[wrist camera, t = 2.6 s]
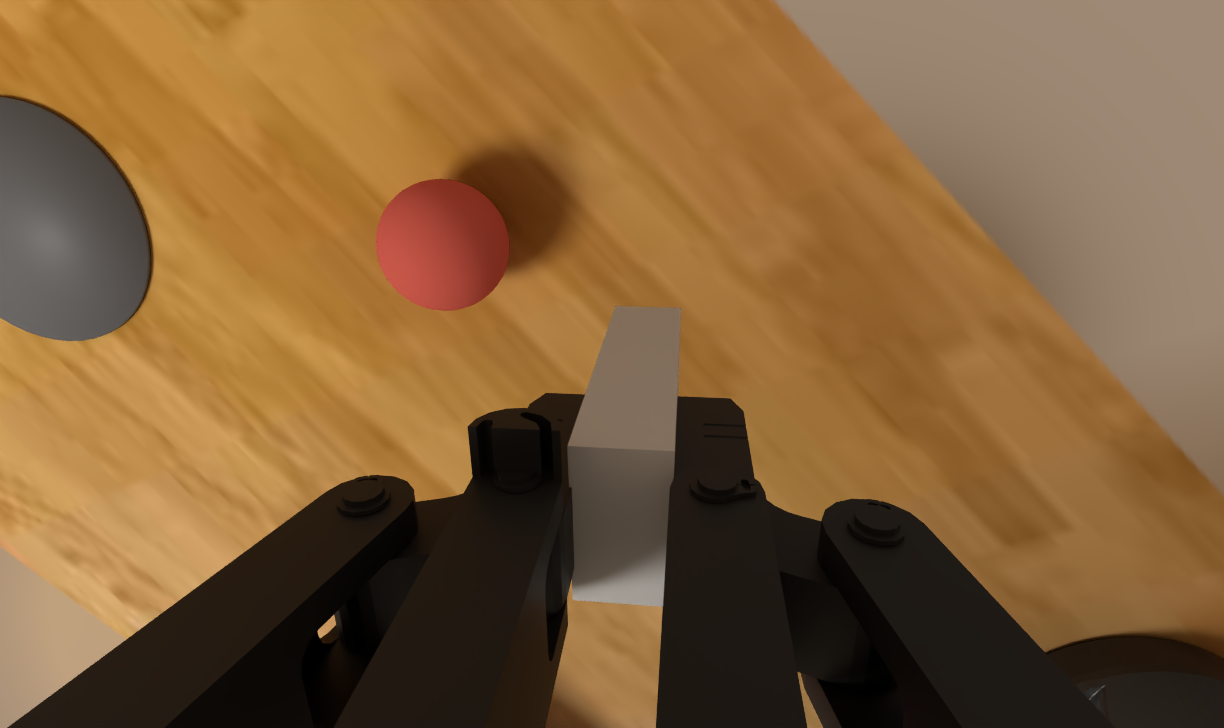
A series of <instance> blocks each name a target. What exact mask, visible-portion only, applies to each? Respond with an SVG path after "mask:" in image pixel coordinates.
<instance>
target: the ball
mask: <svg viewBox="0 0 1224 728" xmlns="http://www.w3.org/2000/svg"><path fill="white" fill-rule="evenodd" d="M376 250H377V255H378V260H379V263H380V266H381V268H382V271H383V273H384V275H385V276H386V278H387V280H388V281H389V282H390V284H391V285H392V286H393V287H394V288H395V289H396V290H397V291H398V292H399V293H400V294H401V295H402V296H404V297H405V298H407V299H408V300H410V301H411V302H413V303H415V304H417V305H419V306H422V307H425V308H429V309H433V310H442V311H449V310H458V309H462V308H465V307H469V306H471V305H473V304H475V303H477V302H479V301H480V300H482V299H483V298H485V297H486V296H487V295H489V294H490V293H491V292H492V291H493V290H494V288H495V287H496V286H497V285H498V283H499V282H500V280H501V278H502V277H503V275H504V272H505V270H506V267H507V263H508V259H509V236H508V232H507V228H506V225H505V223H504V220H503V218H502V216H501V215H500V213H499V211H498V210H497V208H496V207H495V206H494V204H493V203H492V202H491V201H490V200H489V199H488V198H487V197H486V196H485V195H483V194H482V193H481V192H479V191H478V190H476V189H475V188H473V187H471V186H469V185H466V184H464V183H461V182H457V181H453V180H446V179H434V180H427V181H422V182H419V183H416V184H414V185H412V186H410V187H408V188H406V189H404V190H403V191H402V192H400V193H399V194H398V195H397V196H396V197H395V198H394V199H393V200H392V201H391V202H390V203H389V204H388V206H387V207H386V209H385V210H384V212H383V214H382V216H381V219H380V222H379V225H378V228H377V234H376Z"/></svg>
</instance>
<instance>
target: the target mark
mask: <svg viewBox="0 0 1224 728" xmlns="http://www.w3.org/2000/svg"><path fill="white" fill-rule="evenodd" d="M150 267H151V255H150V243H149V238H148V233H147V229H146V225H145V222H144V219H143V216H142V213H141V210H140V208H139V206H138V204H137V201H136V199H135V197H134V195H133V193H132V191H131V190H130V188H129V186H128V184H127V183H126V181H125V179H124V178H123V176H122V175H121V174H120V172H119V171H118V169H117V168H116V166H115V165H114V164H113V163H112V161H111V160H110V159H109V158H108V157H107V156H106V154H105V153H104V152H103V151H102V150H101V149H100V148H99V147H98V146H97V145H96V144H95V143H94V142H93V141H92V140H91V139H90V138H89V137H88V136H86V135H85V134H84V133H83V132H81V131H80V130H79V129H78V128H76V127H75V126H74V125H72V124H71V123H69V122H68V121H66V120H64V119H63V118H61V117H60V116H58V115H56V114H54V113H52V112H50V111H48V110H46V109H44V108H42V107H40V106H37V105H34V104H31V103H29V102H26V101H22V100H17V99H13V98H6V97H0V318H2V319H4V320H5V321H7V322H9V323H10V324H12V325H14V326H16V327H18V328H21V329H23V330H25V331H27V332H30V333H33V334H36V335H39V336H42V337H46V338H51V339H55V340H65V341H82V340H88V339H93V338H97V337H100V336H103V335H105V334H108V333H110V332H112V331H114V330H115V329H117V328H119V327H120V326H122V325H123V324H124V323H125V322H127V321H128V320H129V319H130V318H131V317H132V315H133V314H134V313H135V312H136V311H137V309H138V307H139V306H140V304H141V302H142V300H143V298H144V295H145V293H146V290H147V287H148V282H149V277H150Z"/></svg>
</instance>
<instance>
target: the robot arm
mask: <svg viewBox="0 0 1224 728" xmlns="http://www.w3.org/2000/svg"><path fill="white" fill-rule="evenodd" d="M680 320H681V308H663V307H626V306H615V309H614V312H613V315H612V318H611V321H610V324H609V327H608V330H607V332H606V335H605V338H604V341H603V344H602V347H601V350H600V353H599V356H598V359H597V361H596V364H595V367H594V370H593V373H592V376H591V379H590V382H589V385H588V388H587V390H586V393H585V395H582V394H557V393H545V394H544V395H543V396H541V397H540V398H538V399H537V400H535V401H534V402H532V403H531V404H530V405H529V407H528V408H513V409H504V410H499V411H494V412H490V413H488V414H486V415H483V416H481V417H479V418H477V419H475V420H474V421H473V422H472V423H471V424H470V425H469V426H468V434H469V445H470V455H471V465H472V475H473V477H472V479H471V481H470V483H469V485H468V486H467V488H466V490H465V492H464V493H463V494H460V495H457V496H452V497H447V498H442V499H434V500H427V501H420V502H415V495H414V489H413V488H412V487H411V486H410V484H409V483H408V482H407V481H405V480H402V479H399V478H397V477H394V476H381V475H370V476H368V477H367V476H363V477H358V478H356V479H354V480H350V481H347V482H344V483H341V484H339V485H338V486H336V487H334V488H332V489H330V490H329V491H327V492H325V493H324V494H323V495H321V496H320V497H319V498H317V499H316V500H314V501H313V502H312V503H310V504H309V505H308V506H306V507H305V508H304V509H302V510H301V511H300V512H298V513H297V514H296V515H294V516H293V517H292V518H290V519H289V520H287V521H286V522H285V523H283V524H282V525H281V526H279V527H278V528H277V529H275V530H274V531H273V532H271V533H270V534H269V535H267V536H266V537H264V538H263V539H262V540H260V541H259V542H258V543H256V544H255V545H254V546H252V547H251V548H250V549H248V550H247V551H246V552H244V553H243V554H242V555H240V556H239V557H237V558H236V559H235V560H233V561H232V562H231V563H229V564H228V565H227V566H225V567H224V568H223V569H221V570H220V571H219V572H217V573H216V574H214V575H213V576H212V577H210V578H209V579H208V580H206V581H205V582H204V583H202V584H201V585H200V586H198V587H197V588H196V589H194V590H193V591H191V592H190V593H189V594H187V595H186V596H185V597H183V598H182V599H181V600H179V601H178V602H177V603H175V604H174V605H173V606H171V607H170V608H169V609H167V610H166V611H164V612H163V613H162V614H160V615H159V616H158V617H156V618H155V619H154V620H152V621H151V622H150V623H148V624H147V625H146V626H144V627H143V628H141V629H140V630H139V631H137V632H136V633H135V634H133V635H132V636H131V637H129V638H128V639H127V640H125V641H124V642H123V643H121V644H120V645H119V646H117V647H116V648H114V649H113V650H112V651H110V652H109V653H108V654H106V655H105V656H104V657H102V658H101V659H100V660H99V661H97V662H96V663H94V664H93V665H91V666H90V667H89V668H87V669H86V670H85V671H83V672H82V673H81V674H79V675H78V676H77V677H76V678H74V679H73V680H71V681H70V682H68V683H67V684H66V685H65V686H63V687H62V688H60V689H59V690H58V691H56V692H55V693H54V694H52V695H51V696H50V697H48V698H47V699H46V700H44V701H43V702H41V703H40V704H39V705H37V706H36V707H35V708H33V709H32V710H31V711H29V712H28V713H27V714H25V715H24V716H23V717H21V718H20V719H18V720H17V721H16V722H14V723H13V724H12V725H11V726H9V727H8V728H545V725H546V720H547V716H548V711H549V707H550V702H551V698H552V694H553V689H554V685H555V680H556V676H557V671H558V667H559V662H560V658H561V654H562V649H563V645H564V640H565V636H566V631H567V627H568V615H567V596H568V592H569V587H570V583H571V579H572V592H573V600H580V601H593V602H607V603H621V604H635V605H649V606H662V607H663V614H662V632H661V649H660V667H659V684H658V702H657V719H656V728H807V723H806V718H805V712H804V707H803V701H802V696H801V690H800V684H799V679H798V673H797V672H800V673H801V676H802V680H803V684H804V688H805V690H806V692H807V694H808V696H809V698H810V701H811V703H812V705H813V707H814V709H815V711H816V713H817V715H818V717H819V719H820V721H821V723H822V726H823V728H1224V660H1223V659H1222V658H1220V657H1218V656H1216V655H1214V654H1212V653H1210V652H1208V651H1206V650H1203V649H1200V648H1198V647H1195V646H1192V645H1188V644H1185V643H1180V642H1176V641H1171V640H1165V639H1157V638H1144V637H1123V638H1110V639H1102V640H1095V641H1090V642H1085V643H1081V644H1077V645H1073V646H1069V647H1066V648H1063V649H1060V650H1057V651H1054V652H1052V653H1049V654H1046V653H1045V652H1044V651H1043V650H1042V649H1041V648H1040V647H1039V646H1038V645H1037V644H1036V643H1035V641H1034V640H1033V639H1032V638H1031V637H1030V636H1029V635H1028V634H1027V633H1026V632H1025V631H1024V630H1023V629H1022V628H1021V626H1020V625H1019V624H1018V623H1017V622H1016V621H1015V620H1014V619H1013V618H1012V617H1011V616H1010V615H1009V614H1008V613H1007V612H1006V610H1005V609H1004V608H1003V607H1002V606H1001V605H1000V604H999V603H998V602H997V601H996V600H995V599H994V598H993V597H992V596H991V594H990V593H989V592H988V591H987V590H986V589H985V588H984V587H983V586H982V585H981V584H980V583H979V582H978V581H977V579H976V578H975V577H974V576H973V575H972V574H971V573H970V572H969V571H968V570H967V569H966V568H965V567H964V566H963V565H962V563H961V562H960V561H959V560H958V559H957V558H956V557H955V556H954V555H953V554H952V553H951V552H950V551H949V550H948V549H947V547H946V546H945V545H944V544H943V543H942V542H941V541H940V540H939V539H938V538H937V537H936V536H935V535H934V534H933V532H932V531H931V530H930V529H929V528H928V527H927V526H926V525H925V524H924V523H923V522H921V521H920V520H919V519H918V518H916V517H915V516H914V515H912V514H911V513H910V512H907V511H905V510H903V509H901V508H899V507H896V506H894V505H892V504H889V503H886V502H882V501H881V502H879V501H878V500H871V499H849V500H845V501H840V502H836V503H834V504H833V505H832V506H830V507H829V508H827V509H826V510H825V512H824V515H823V518H822V521H818V520H814V519H810V518H806V517H802V516H799V515H795V514H792V513H789V512H786V511H784V510H782V509H780V508H778V507H776V506H774V505H773V504H772V503H770V502H769V501H767V500H766V495H765V491H764V489H763V488H762V486H761V484H760V482H759V481H757V480H756V479H755V478H754V473H753V466H752V460H751V454H750V448H749V442H748V436H747V430H746V424H745V418H744V412H743V410H742V409H741V408H740V407H739V406H737V405H736V404H735V403H734V402H733V401H732V400H731V399H729V398H704V397H679V396H678V377H679V349H680ZM333 615H334V616H335V620H336V626H335V627H334V628H333V629H332V630H331V631H330V632H329V633H328V634H326V635H325V636H323V637H322V638H319V636H318V632H317V631H318V629H319V628H320V627H321V626H323V625H324V624H325V623H326V622H327V621H328V620H329V619H330V618H331V617H332V616H333Z"/></svg>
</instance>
